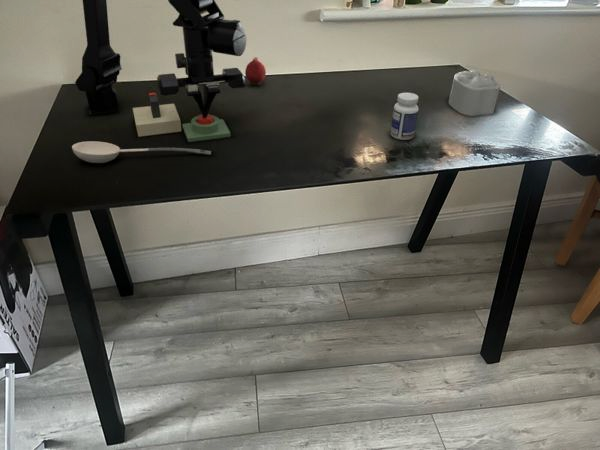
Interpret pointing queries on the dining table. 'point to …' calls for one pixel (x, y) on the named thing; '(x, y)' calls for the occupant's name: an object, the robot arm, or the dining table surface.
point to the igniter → (205, 130)
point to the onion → (255, 71)
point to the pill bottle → (404, 116)
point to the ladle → (115, 151)
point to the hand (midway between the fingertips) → (204, 116)
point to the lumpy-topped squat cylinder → (474, 93)
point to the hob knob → (154, 105)
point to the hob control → (157, 120)
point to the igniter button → (205, 119)
